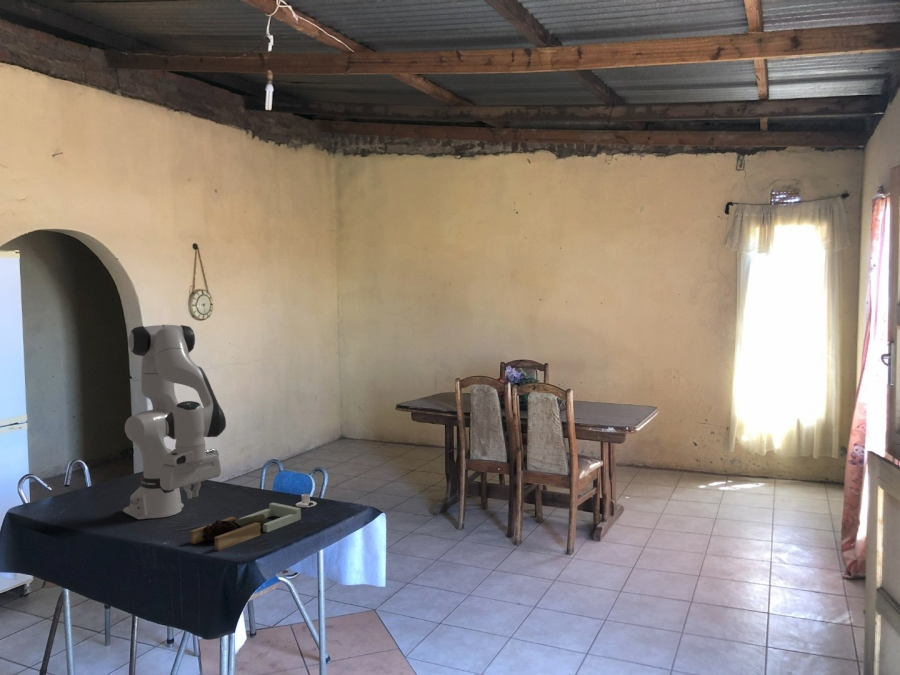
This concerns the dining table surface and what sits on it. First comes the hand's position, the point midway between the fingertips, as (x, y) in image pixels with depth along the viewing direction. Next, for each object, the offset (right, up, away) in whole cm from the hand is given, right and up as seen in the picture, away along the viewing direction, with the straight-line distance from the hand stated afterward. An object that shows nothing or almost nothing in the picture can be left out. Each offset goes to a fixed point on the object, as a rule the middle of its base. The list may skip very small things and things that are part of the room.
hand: (192, 497), depth 218 cm
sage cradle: (+17, -15, +27) cm, 35 cm away
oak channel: (+7, -16, +12) cm, 21 cm away
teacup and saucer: (+23, -15, +48) cm, 55 cm away
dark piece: (+9, -17, +15) cm, 24 cm away
